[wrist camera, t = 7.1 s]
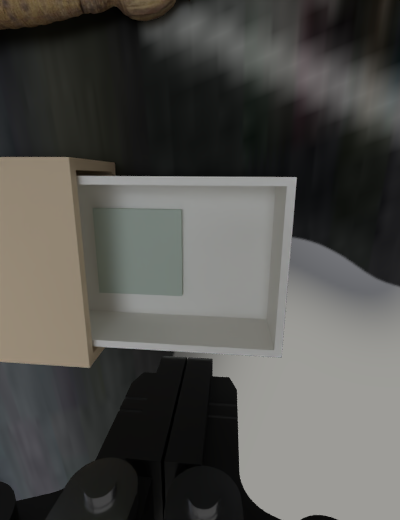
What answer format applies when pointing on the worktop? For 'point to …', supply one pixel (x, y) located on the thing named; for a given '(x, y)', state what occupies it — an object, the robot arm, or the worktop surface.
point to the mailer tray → (187, 262)
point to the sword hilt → (74, 10)
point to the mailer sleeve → (44, 262)
